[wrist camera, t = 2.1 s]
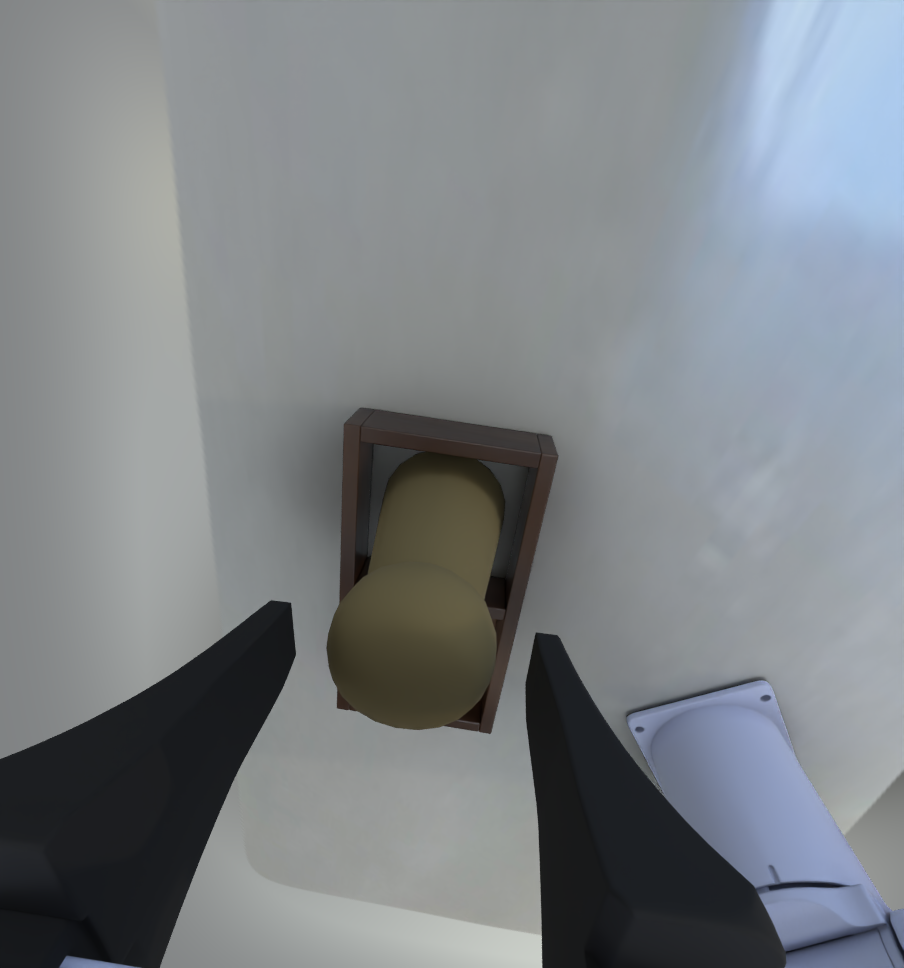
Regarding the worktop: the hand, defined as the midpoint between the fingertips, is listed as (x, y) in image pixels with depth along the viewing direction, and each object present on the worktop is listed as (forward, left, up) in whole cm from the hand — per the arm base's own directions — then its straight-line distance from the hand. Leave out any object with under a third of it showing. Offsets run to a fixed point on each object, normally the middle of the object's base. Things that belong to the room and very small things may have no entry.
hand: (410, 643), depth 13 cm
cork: (0, 0, -10) cm, 10 cm away
